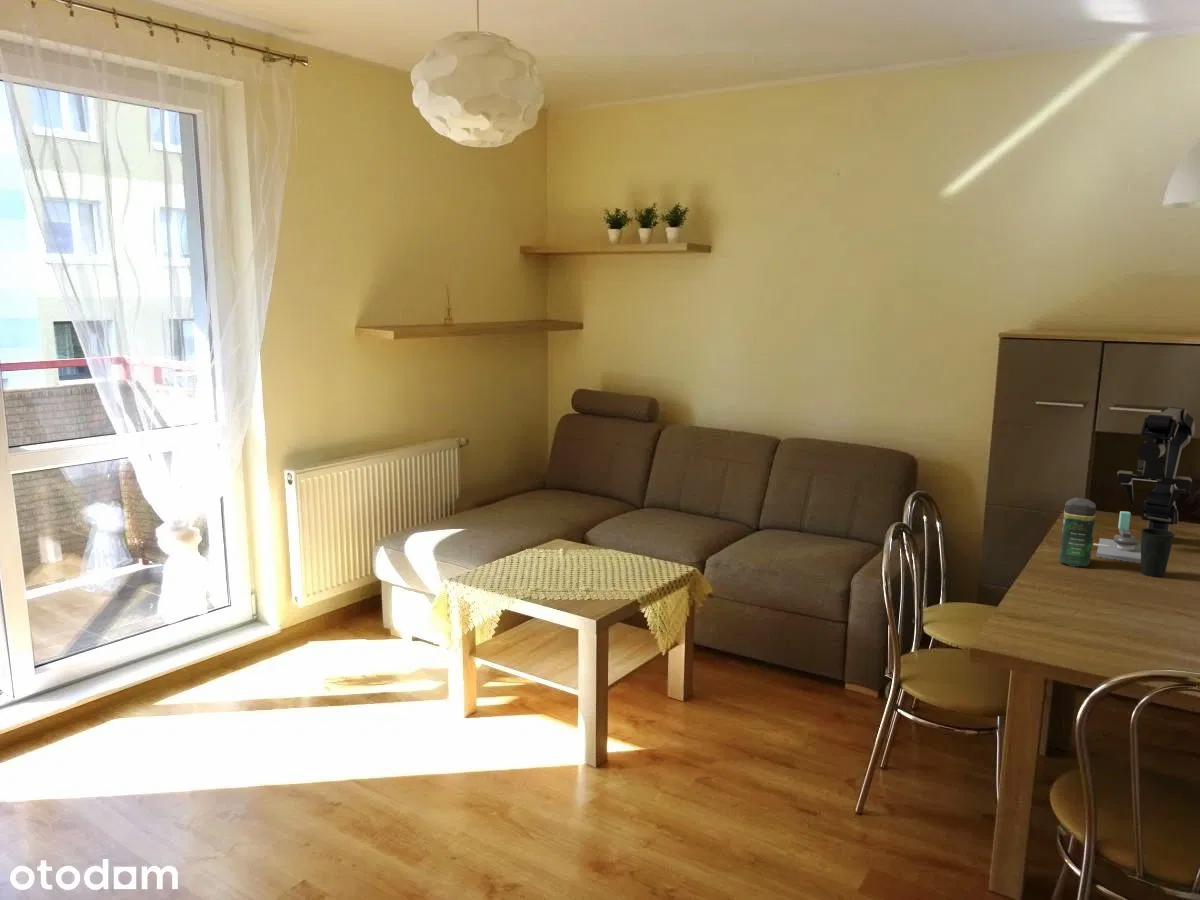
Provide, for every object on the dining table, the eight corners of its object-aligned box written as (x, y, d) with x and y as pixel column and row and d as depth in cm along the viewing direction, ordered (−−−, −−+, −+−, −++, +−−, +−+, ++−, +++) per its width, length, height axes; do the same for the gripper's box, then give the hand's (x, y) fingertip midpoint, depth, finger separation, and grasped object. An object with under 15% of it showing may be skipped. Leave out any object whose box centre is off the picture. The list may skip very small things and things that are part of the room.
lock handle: (1133, 536, 265) (1136, 512, 263) (1140, 546, 255) (1143, 521, 254) (1109, 534, 267) (1112, 510, 266) (1115, 544, 258) (1118, 519, 256)
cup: (1167, 580, 236) (1172, 537, 234) (1134, 574, 241) (1139, 532, 238) (1170, 573, 242) (1175, 531, 240) (1138, 567, 247) (1143, 526, 244)
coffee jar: (1089, 569, 245) (1096, 505, 242) (1057, 564, 249) (1064, 501, 246) (1090, 560, 253) (1097, 497, 250) (1060, 555, 257) (1066, 494, 254)
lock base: (1094, 541, 272) (1095, 531, 271) (1152, 548, 264) (1153, 539, 263) (1091, 556, 257) (1092, 546, 256) (1152, 565, 249) (1153, 555, 248)
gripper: (1193, 455, 259) (1186, 506, 262) (1120, 449, 268) (1114, 498, 271) (1194, 461, 250) (1187, 515, 253) (1119, 455, 259) (1113, 506, 262)
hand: (1149, 508), depth 260 cm, fingers open, 9 cm apart
